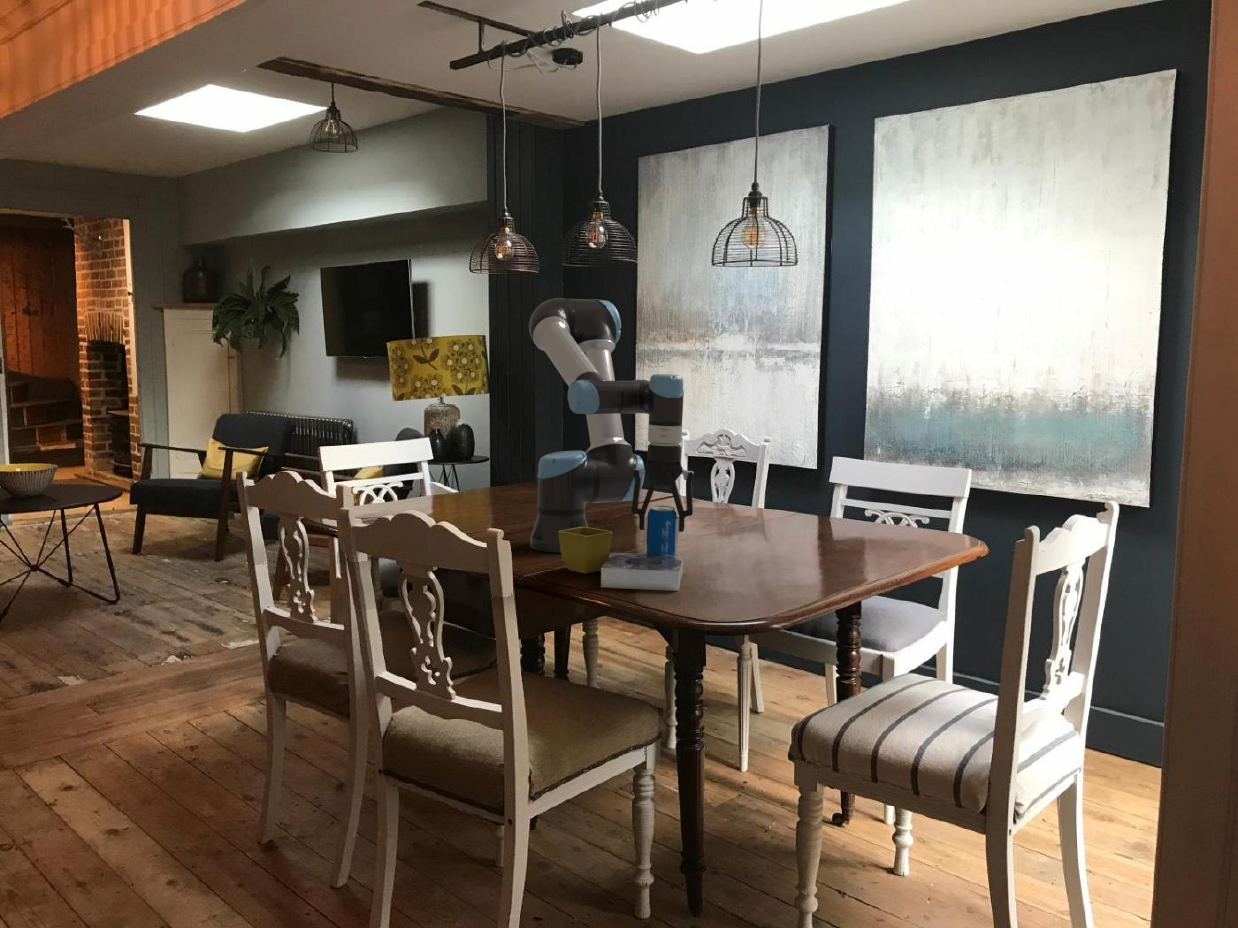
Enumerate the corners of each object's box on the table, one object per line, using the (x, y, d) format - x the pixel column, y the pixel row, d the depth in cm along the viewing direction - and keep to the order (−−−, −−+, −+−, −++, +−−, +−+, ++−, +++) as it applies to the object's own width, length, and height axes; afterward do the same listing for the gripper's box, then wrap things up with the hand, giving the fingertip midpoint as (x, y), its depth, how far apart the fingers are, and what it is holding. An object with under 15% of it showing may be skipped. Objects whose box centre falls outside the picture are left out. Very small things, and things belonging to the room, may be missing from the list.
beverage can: (651, 563, 223) (653, 510, 221) (642, 557, 229) (644, 505, 227) (678, 562, 224) (680, 510, 223) (669, 556, 230) (671, 504, 229)
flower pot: (583, 564, 226) (583, 525, 225) (612, 570, 221) (613, 530, 220) (556, 571, 220) (557, 530, 219) (586, 577, 214) (587, 536, 213)
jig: (600, 587, 206) (601, 568, 205) (610, 570, 221) (610, 552, 221) (678, 590, 204) (679, 571, 203) (682, 573, 220) (682, 555, 219)
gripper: (619, 443, 220) (616, 546, 223) (707, 447, 218) (703, 550, 221) (623, 440, 228) (620, 539, 231) (708, 443, 226) (704, 543, 229)
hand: (661, 544), depth 226 cm, fingers closed on beverage can, 6 cm apart
